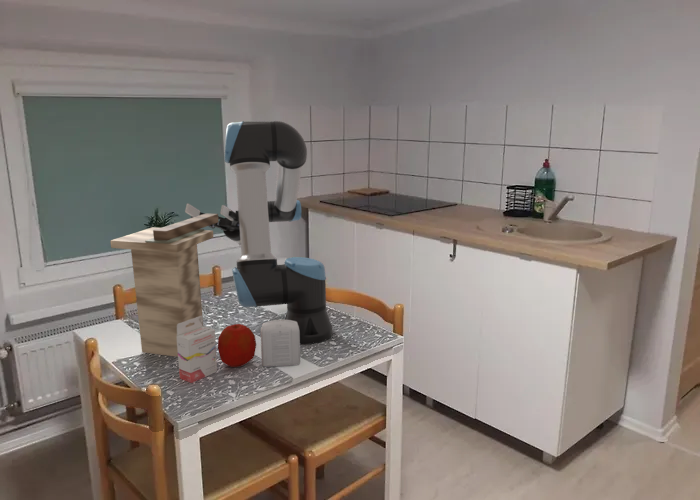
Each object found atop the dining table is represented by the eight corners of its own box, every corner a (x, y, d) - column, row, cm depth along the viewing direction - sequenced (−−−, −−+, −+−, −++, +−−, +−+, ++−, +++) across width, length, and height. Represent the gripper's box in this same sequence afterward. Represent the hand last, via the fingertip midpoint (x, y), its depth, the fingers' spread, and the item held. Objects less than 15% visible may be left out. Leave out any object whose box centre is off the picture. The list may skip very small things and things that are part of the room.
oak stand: (162, 332, 172) (152, 226, 164) (220, 339, 167) (212, 229, 159) (123, 356, 156) (110, 239, 148) (186, 365, 150) (176, 243, 142)
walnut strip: (206, 221, 170) (206, 213, 170) (218, 222, 169) (218, 213, 169) (153, 239, 146) (153, 230, 146) (167, 240, 145) (166, 231, 144)
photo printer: (300, 359, 153) (298, 316, 150) (301, 365, 149) (299, 321, 146) (261, 361, 151) (259, 318, 148) (261, 368, 147) (259, 324, 144)
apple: (244, 374, 144) (241, 332, 141) (210, 369, 147) (207, 327, 145) (263, 359, 153) (261, 319, 150) (232, 353, 157) (229, 314, 154)
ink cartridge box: (192, 384, 139) (187, 328, 136) (179, 379, 142) (174, 324, 139) (218, 371, 146) (214, 318, 143) (205, 366, 149) (201, 314, 145)
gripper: (268, 243, 183) (237, 222, 163) (205, 239, 190) (167, 218, 170) (272, 221, 184) (242, 197, 164) (209, 218, 192) (173, 195, 172)
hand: (204, 208), depth 167 cm, fingers open, 11 cm apart
